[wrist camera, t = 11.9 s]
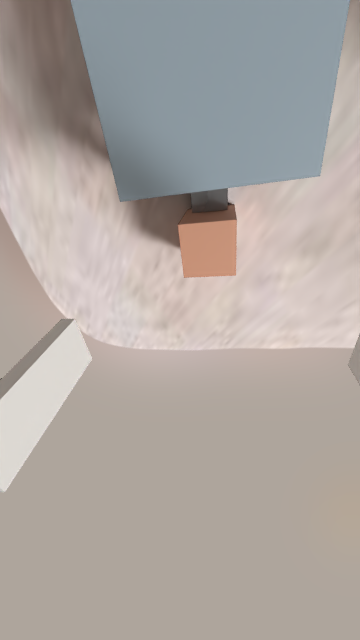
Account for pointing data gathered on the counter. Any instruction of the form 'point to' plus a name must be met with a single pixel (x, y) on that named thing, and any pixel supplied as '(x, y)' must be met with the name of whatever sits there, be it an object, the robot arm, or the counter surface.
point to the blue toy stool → (211, 89)
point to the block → (208, 243)
